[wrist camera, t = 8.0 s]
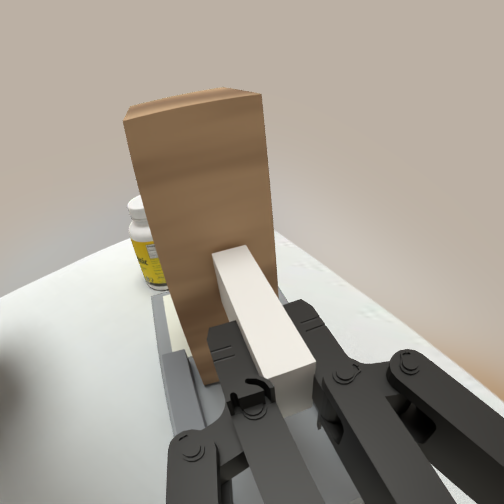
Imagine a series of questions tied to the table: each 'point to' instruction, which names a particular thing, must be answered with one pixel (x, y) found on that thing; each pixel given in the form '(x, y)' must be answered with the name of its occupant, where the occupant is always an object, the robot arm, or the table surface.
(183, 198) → the block
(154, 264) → the supplement bottle
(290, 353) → the robot arm
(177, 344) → the grey stand base
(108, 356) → the table surface
